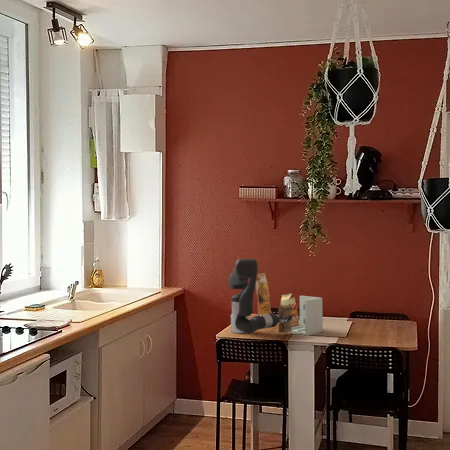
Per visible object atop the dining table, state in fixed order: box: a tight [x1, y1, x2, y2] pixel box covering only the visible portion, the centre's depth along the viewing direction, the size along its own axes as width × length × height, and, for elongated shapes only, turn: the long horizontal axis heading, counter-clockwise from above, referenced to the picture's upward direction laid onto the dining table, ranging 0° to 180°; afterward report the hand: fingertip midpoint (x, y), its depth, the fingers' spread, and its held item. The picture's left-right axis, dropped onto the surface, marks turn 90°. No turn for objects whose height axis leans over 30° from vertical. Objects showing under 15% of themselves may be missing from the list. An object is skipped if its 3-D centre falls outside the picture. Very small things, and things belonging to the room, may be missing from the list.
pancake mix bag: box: [255, 272, 272, 316], centre depth 443 cm, size 7×19×28 cm, turn 151°
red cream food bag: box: [280, 292, 300, 327], centre depth 410 cm, size 9×9×20 cm
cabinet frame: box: [291, 295, 324, 337], centre depth 394 cm, size 15×13×19 cm
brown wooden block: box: [278, 305, 292, 334], centre depth 388 cm, size 4×6×14 cm, turn 134°
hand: (288, 316), depth 390 cm, fingers closed on brown wooden block, 4 cm apart
